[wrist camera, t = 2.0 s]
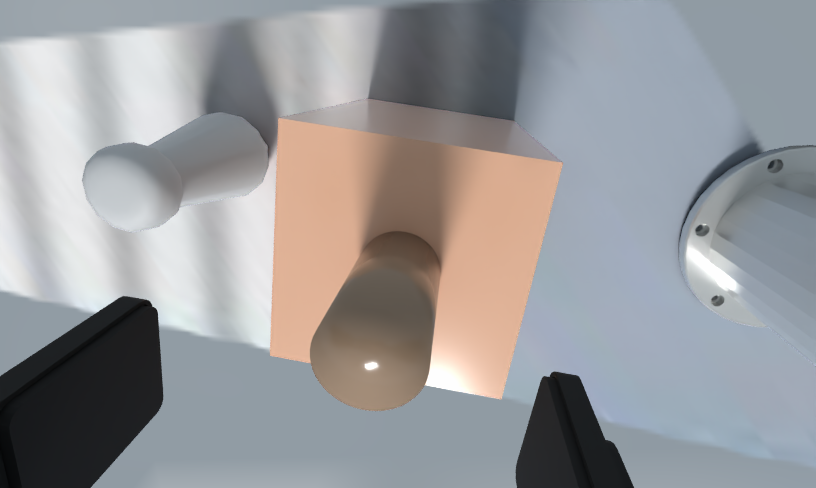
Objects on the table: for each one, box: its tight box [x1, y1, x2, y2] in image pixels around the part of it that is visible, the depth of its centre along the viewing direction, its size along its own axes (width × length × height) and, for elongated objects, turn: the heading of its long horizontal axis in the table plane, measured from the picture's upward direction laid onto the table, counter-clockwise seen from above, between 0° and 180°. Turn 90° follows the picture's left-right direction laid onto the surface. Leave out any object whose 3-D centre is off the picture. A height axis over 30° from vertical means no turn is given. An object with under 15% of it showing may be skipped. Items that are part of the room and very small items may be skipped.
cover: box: [270, 98, 563, 411], centre depth 22 cm, size 10×10×22 cm
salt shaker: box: [82, 112, 269, 232], centre depth 27 cm, size 6×6×13 cm
